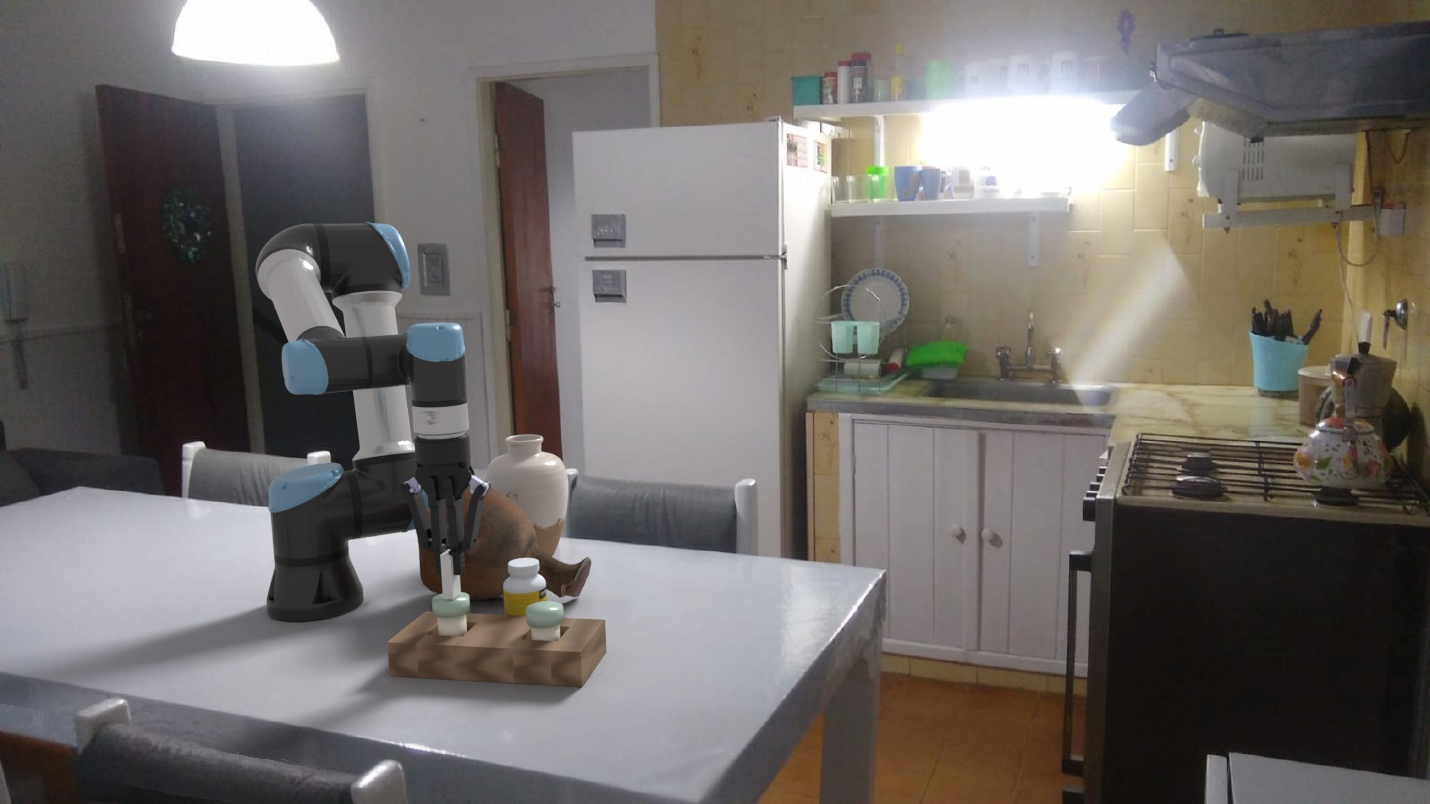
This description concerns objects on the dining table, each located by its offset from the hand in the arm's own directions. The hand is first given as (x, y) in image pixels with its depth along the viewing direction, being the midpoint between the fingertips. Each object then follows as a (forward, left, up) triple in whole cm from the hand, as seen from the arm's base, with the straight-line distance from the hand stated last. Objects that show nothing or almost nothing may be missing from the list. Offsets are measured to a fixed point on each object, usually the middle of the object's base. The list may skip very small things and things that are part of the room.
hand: (452, 596), depth 149 cm
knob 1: (0, 0, -8) cm, 8 cm away
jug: (-2, +26, -10) cm, 28 cm away
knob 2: (+14, 0, -9) cm, 17 cm away
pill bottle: (+7, +11, -10) cm, 16 cm away
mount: (+7, 0, -10) cm, 12 cm away
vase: (-7, +51, -10) cm, 52 cm away
